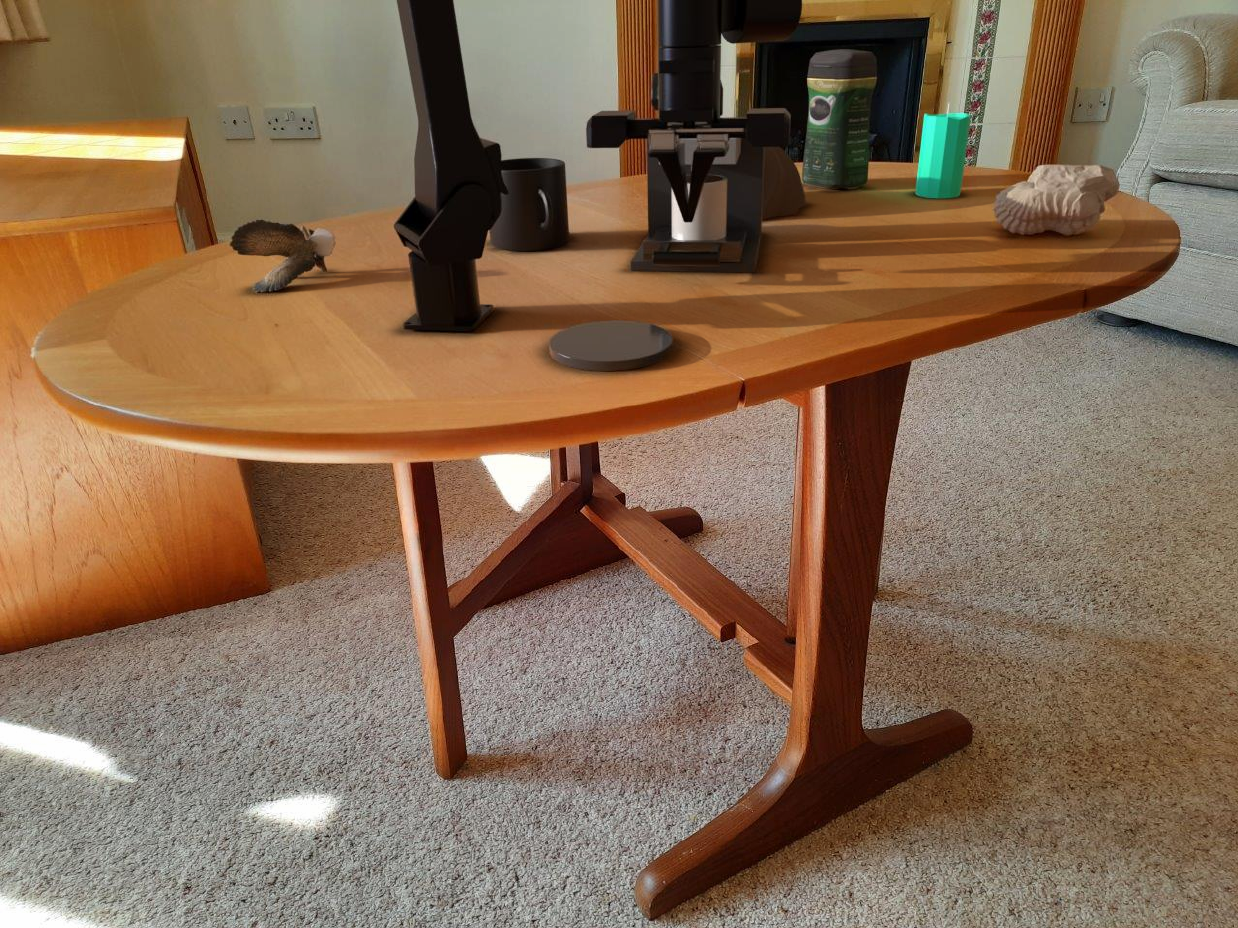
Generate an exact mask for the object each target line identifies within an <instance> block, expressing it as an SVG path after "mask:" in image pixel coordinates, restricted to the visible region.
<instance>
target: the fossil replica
mask: <svg viewBox="0 0 1238 928" xmlns="http://www.w3.org/2000/svg"><path fill="white" fill-rule="evenodd" d="M1120 186H1121V184H1120V181H1119V178H1118V176H1117V173H1116V171H1115V170H1114V169H1113V168H1110V167H1108V166H1104V165H1102V164H1093V165H1092V164H1091V165H1090V164H1089V165H1088V164H1087V165H1085V164H1084V165H1083V164H1082V165H1081V164H1053V163H1051V164H1041V165H1038V166H1036V168H1035V169H1034V170H1033V171H1032V173H1031V174H1030V175H1029V177H1028V179H1027V180H1024V181H1019V182H1017V183H1014V184H1013V185H1011V186H1009V187H1008V188H1007V187H1006V188H1004V190H1001V191H1000V193H998V194H996V196H995V200H994V207H993V209H992V211H993V212H994V218H996V219H997V223H998V224H1000V225H1002V227H1003V228H1004V230H1007V231H1008V232H1010V233H1011V234H1018V235H1021V236H1024V235H1029V236H1032V235H1035V234H1037V233H1038V234H1040V233H1041V234H1042V233H1045V231H1052V232H1056V233H1059V234H1062V235H1063V236H1066V237H1068V236H1072V235H1081V234H1084V233H1086V232H1088V231H1090V230H1092V229H1093V228H1094V227H1095V226H1096V225H1098V223H1099V222H1100V219H1101V214H1103V213H1104V212H1105V210H1106V206H1105V202H1107V201H1109V200H1111V199H1113V198H1114V197H1115V196H1117V195H1118V192H1119V190H1120Z"/></svg>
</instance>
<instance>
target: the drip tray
mask: <svg viewBox="0 0 1238 928" xmlns="http://www.w3.org/2000/svg"><path fill="white" fill-rule="evenodd" d="M746 235H747V227H727V230H726V237H724V238H722V239H719V240H677V239H674V238H673V237H672V227H659V228H658V230H657V232H656V233H655V235H654V236H653V238H652V240H645V239H643V240H642V243H643V261H653V265H676V266H719V262H740V260H741V256H742V252H743V247H744V243H745V239H746Z"/></svg>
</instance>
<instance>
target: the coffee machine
mask: <svg viewBox="0 0 1238 928" xmlns="http://www.w3.org/2000/svg"><path fill="white" fill-rule="evenodd" d="M705 123H706V122H695V124H705ZM680 124H683V123H676V122H668V125H680ZM679 143H685V167H686V175H691V171H692V161H693V152H694V150H695V149H696V148H697V146H698V145H699V142H697V138H685V139H681V141H680V142H679ZM728 143H729V150H728V152H727V154H726V156H724V157H715V159H714V161H713V164H712V166H711V168H710V170H709V173H708V175H719V176H724V177H726V178H727V179H728V186H727V227H747V235H746V239H745V243H744V247H743V252H742V256H741V260H740V262H719V266H676V265H653V261H643V242H642V243H641V245H640V246H639V248H638V250H637V251H636V253H634V256H633V257H632V259H631V261H630V271H631V272H686V273H687V272H689V273H691V272H693V273H694V272H696V273H698V272H700V273H751V274H752V273H753V274H755V273H756V269H757V263H758V257H759V251H760V246H761V239H762V235H763V234H762V233H763V220H762V212H763V187H764V162H765V147H753V145H752V144H751V143H750V142H749V141H748V140H747V139H746V138H730V139H729V141H728ZM648 150H649V143H648V139H646V152H647V151H648ZM646 181H647V184H646V185H647V187H646V188H647V236H646V237H645V239H644V240H652V238H653V236H654V235H655V233H656V232H657V230H658V228H659V227H672V211H671V185H670V182H669V180H668V178H667V176H666V174H665V172H664V170H663V169H662V167H661V165H660V163H659V161H658V159H657V158H651V157H647V156H646Z"/></svg>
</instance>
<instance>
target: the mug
mask: <svg viewBox="0 0 1238 928" xmlns="http://www.w3.org/2000/svg"><path fill="white" fill-rule="evenodd" d="M501 172H502V178H503V181H504V184H505V186H506V188H507V190H508V192H509V193H508V195H505V194H503V193H501V197H502V211H501V215H500V218H499V219H497V221H496V222H495V224H494V225H493V227H492V228H491V229H490V230H489V231H488V232H489V241H490V243H491V245H492V246H493V247H494V248H496V249H500V250H504V251H510V252H536V251H543V250H549V249H554V248H557V247H561V246H563V245H565V244H567V243H568V242H569V239H570V227H569V225H570V224H569V209H568V191H567V173H566V162H565V161H564V160H562V159H558V158H552V157H551V158H549V157H521V158H509V159H508V158H507V159H501Z"/></svg>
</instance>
